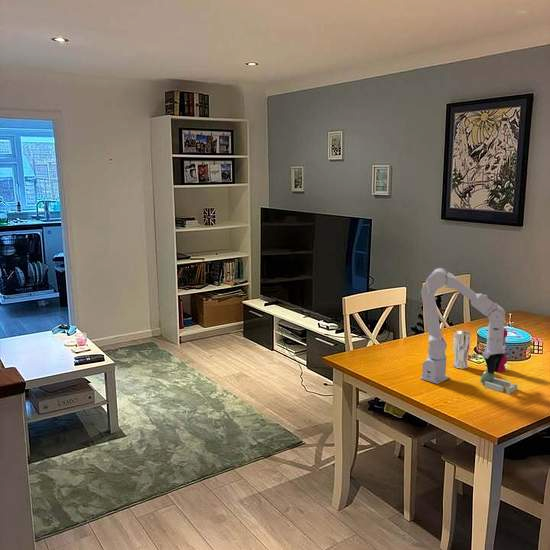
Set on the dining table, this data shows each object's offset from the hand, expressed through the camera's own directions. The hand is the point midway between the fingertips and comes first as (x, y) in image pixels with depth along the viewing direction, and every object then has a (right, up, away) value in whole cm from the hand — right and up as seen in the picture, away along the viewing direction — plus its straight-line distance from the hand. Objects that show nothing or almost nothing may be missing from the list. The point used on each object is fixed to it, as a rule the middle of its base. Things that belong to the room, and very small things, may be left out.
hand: (492, 371), depth 210 cm
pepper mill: (+9, -2, +18) cm, 20 cm away
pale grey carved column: (-5, -2, +21) cm, 22 cm away
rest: (+2, -6, -1) cm, 6 cm away
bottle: (-2, -5, +3) cm, 5 cm away
